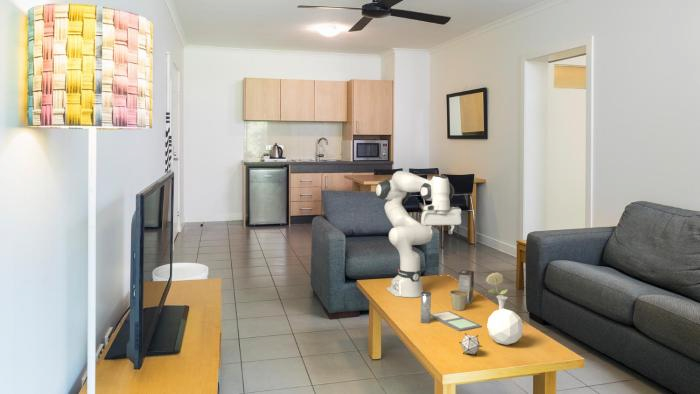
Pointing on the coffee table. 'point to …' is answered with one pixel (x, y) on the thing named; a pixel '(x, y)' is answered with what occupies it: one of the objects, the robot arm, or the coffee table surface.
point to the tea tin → (425, 307)
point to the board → (455, 321)
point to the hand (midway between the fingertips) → (441, 234)
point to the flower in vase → (495, 280)
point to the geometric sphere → (505, 326)
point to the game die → (470, 344)
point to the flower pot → (458, 299)
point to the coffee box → (466, 283)
